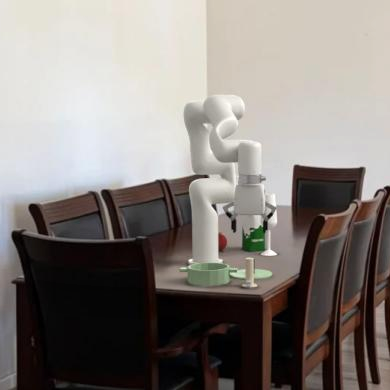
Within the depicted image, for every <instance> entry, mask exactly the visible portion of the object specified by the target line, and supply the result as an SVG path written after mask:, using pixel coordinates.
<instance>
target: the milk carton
mask: <svg viewBox="0 0 390 390" xmlns="http://www.w3.org/2000/svg"><path fill="white" fill-rule="evenodd" d="M260 220H261V215H241V221H242V222H241V228H242V229H241V237H242V238H241V239H242V240H241V249H242V250H244V251H247V252H258V251H266V233H263V226H262V224H261V223H260Z"/></svg>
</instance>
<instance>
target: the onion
mask: <svg viewBox="0 0 390 390" xmlns="http://www.w3.org/2000/svg"><path fill="white" fill-rule="evenodd" d="M227 245H228V239H227V237H226V235H224V234H223V233H222V231H218V252H222V251H223V250H224V249H225V248H226V247H227Z"/></svg>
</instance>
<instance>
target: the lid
mask: <svg viewBox="0 0 390 390" xmlns="http://www.w3.org/2000/svg"><path fill="white" fill-rule="evenodd" d="M255 261H256V259H255V258H254V280H263V279H268V278H270V277H272V276H273V272H272V271H270V270H268V269H259V268H258V269H257V268H255V266H256V264H255V263H256V262H255ZM230 277H231V278H233V279H237V280H246V278H245V269H244V268H243V269H238V271H237V272H230Z"/></svg>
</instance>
